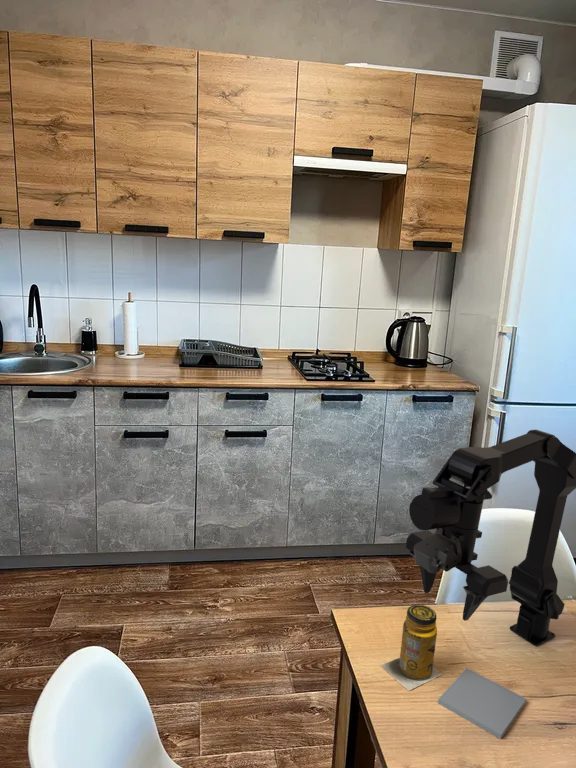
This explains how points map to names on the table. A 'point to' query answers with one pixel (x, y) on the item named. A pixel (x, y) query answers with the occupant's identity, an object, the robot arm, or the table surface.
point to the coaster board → (482, 702)
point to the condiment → (416, 649)
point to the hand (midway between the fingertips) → (445, 605)
